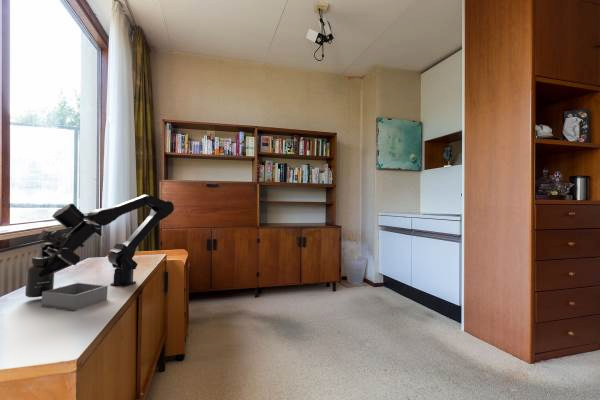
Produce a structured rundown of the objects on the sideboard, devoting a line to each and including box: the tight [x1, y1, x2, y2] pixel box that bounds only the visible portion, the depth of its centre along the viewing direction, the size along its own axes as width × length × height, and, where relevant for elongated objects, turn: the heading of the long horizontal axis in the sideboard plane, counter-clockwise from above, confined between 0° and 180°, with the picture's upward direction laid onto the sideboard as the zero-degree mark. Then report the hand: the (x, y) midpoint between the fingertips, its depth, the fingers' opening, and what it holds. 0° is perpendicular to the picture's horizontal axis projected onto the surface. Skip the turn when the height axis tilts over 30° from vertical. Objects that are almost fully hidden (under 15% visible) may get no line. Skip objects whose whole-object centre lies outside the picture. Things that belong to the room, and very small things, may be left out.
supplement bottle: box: [24, 256, 56, 298], centre depth 96 cm, size 7×7×12 cm
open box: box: [40, 282, 108, 312], centre depth 94 cm, size 12×12×4 cm
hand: (35, 274), depth 95 cm, fingers closed on supplement bottle, 7 cm apart
